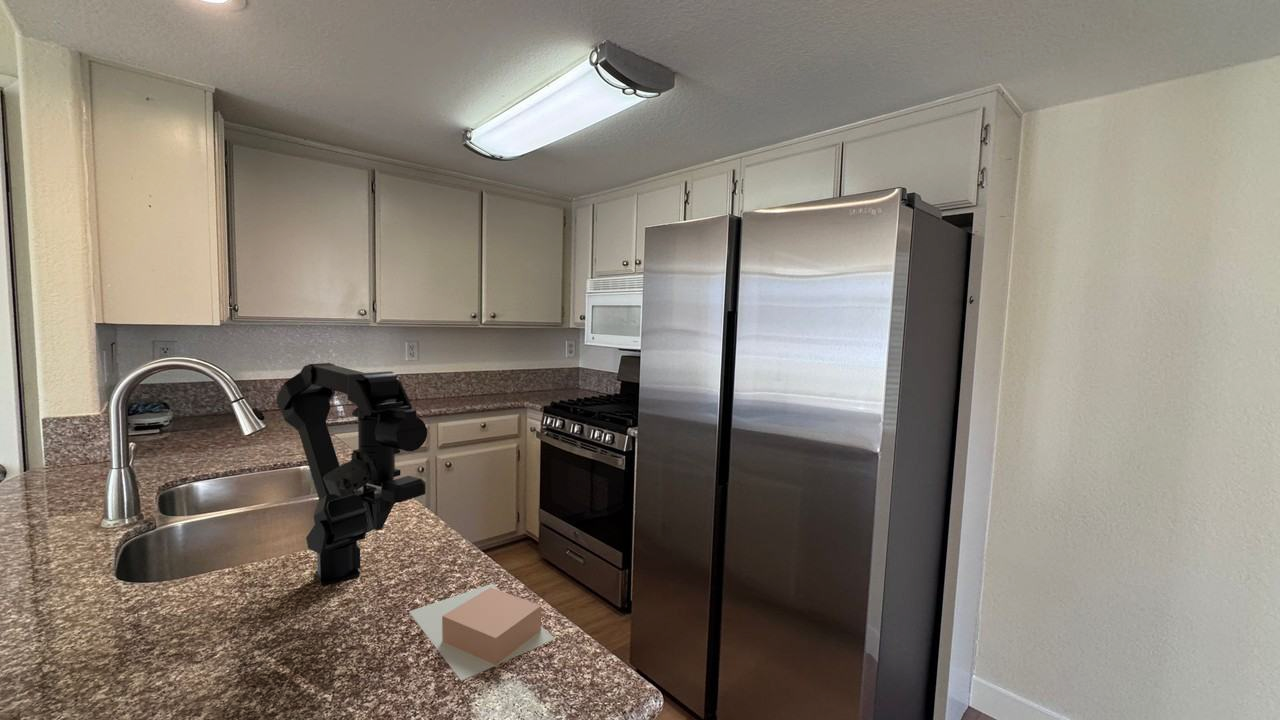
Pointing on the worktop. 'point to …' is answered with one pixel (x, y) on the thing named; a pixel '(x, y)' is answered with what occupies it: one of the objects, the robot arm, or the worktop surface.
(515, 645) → the terracotta slab
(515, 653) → the rubber mat
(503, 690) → the worktop surface
